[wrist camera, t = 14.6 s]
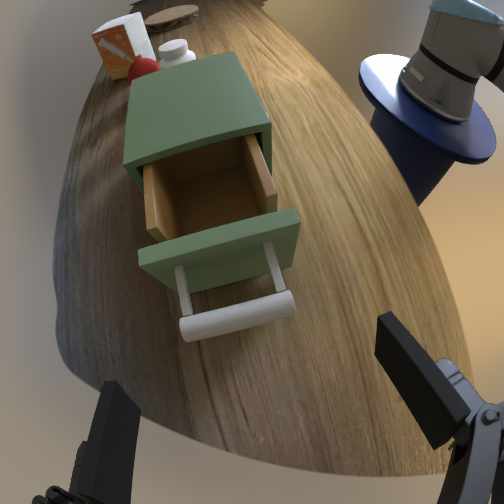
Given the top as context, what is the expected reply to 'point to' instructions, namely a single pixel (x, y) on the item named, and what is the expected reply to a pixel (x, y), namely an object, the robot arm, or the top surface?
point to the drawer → (218, 232)
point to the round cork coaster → (171, 18)
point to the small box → (122, 43)
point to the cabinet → (192, 111)
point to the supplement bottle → (174, 53)
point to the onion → (141, 67)
